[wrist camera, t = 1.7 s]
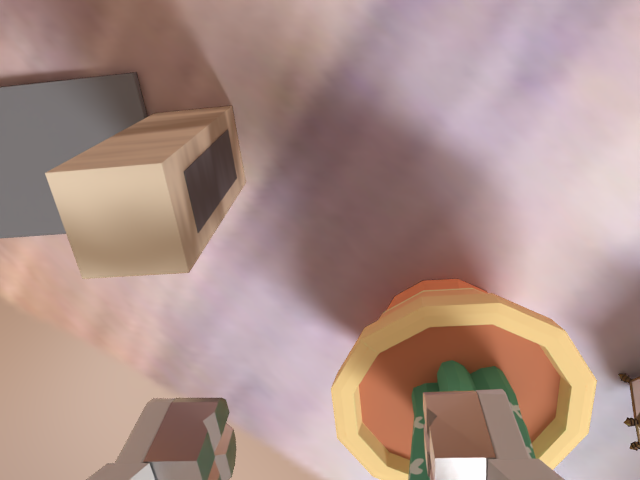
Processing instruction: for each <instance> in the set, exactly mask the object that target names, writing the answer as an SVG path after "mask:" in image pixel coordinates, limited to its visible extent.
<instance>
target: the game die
mask: <svg viewBox="0 0 640 480" xmlns="http://www.w3.org/2000/svg"><path fill="white" fill-rule="evenodd" d="M619 376H620V378H621V380H623V381H624V382H628V383H629V384H630V391H631V398H632V406H633V413H634V419H633V418H627V419H626V421H625V422H624V423H625V424H626V425H628V427H629V426H636V432H637V437H638V442H633V443H631V446H630V449H633V450H636V451H637V449H640V377H638V378H635V379H631V378H630V377H629V376H627V375H626V374H619Z"/></svg>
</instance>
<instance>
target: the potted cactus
mask: <svg viewBox="0 0 640 480" xmlns="http://www.w3.org/2000/svg"><path fill="white" fill-rule="evenodd" d="M596 383H597V380H596V378H595V377H594V375H593V374H592V372H591V371H590V369H589V367H588V366H587V364H586V363H585V361H584V360H583V358H582V356H581V355H580V353H579V352H578V350H577V348H576V347H575V345H574V344H573V342H572V341H571V339H570V337H569V336H568V334H567V333H566V331H565V330H563V329H562V328H561V327H560V326H559V325H558V324H556V323H555V322H554V321H553V320H552V319H550V318H548V317H545V316H543V315H541V314H538V313H536V312H534V311H532V310H529V309H527V308H525V307H522V306H520V305H518V304H515V303H513V302H511V301H509V300H506V299H504V298H502V297H499V296H497V295H495V294H493V293H488V292H487V291H485V290H482V289H480V288H478V287H475V286H473V285H471V284H469V283H466V282H464V281H462V280H459V279H441V280H423V281H421V282H420V283H418V284H416V285H414V286H412V287H411V288H409V289H407V290H405V291H403V292H401V293H400V294H398V295H396V296H395V297H394V298H393V300H392V301H391V303H390V305H389V306H388V308H387V310H386V311H385V312H383V313H382V315H381V316H380V318H379V320H378V321H376V322H374V323H372V324H370V325H368V326H367V327H365V328H364V329H363V331H362V333H361V335H360V336H359V338H358V340H357V341H356V343H355V345H354V346H353V348H352V350H351V351H350V353H349V355H348V356H347V358H346V360H345V361H344V363H343V365H342V366H341V368H340V370H339V371H338V373H337V375H336V378H335V380H334V383H333V385H332V388H331V393H332V401H333V409H334V417H335V424H336V432H337V439H338V440H339V441H340V442H341V443H342V444H343V445H344V446H345V447H346V448H347V449H348V450H349V451H350V453H351V454H352V455H353V456H354V457H355V458H356V459H357V460H358V461H359V462H360V463H361V464H362V465H363V466H364V468H365V469H366V470H367V471H368V472H369V473H370V474H371V475H372V476H373V477H375V478H378V479H381V480H430V478H429V477H428V474H427V466H426V458H425V446H424V426H423V425H424V424H425V418H424V411H423V392H447V391H476V390H492V389H503V390H504V391H505V392H506V395H507V397H508V400H509V403H510V405H511V408H512V411H513V414H514V416H515V419H516V422H517V424H518V427H519V430H520V432H521V435H522V438H523V440H524V443H525V446H526V449H527V451H528V454H529V457H530V459H540V460H541V461H542V462H544V463H545V464H546V465H547V466H548V467H550V468H551V469H552V470H553V469H554V468H555V467H556V466H557V465H558V464H559V463H560V462H561V461H562V460H563V459H564V458H565V457H566V456H567V455H568V454H569V453H570V452H571V451H572V450H573V449H574V448H575V447H576V446H577V444H578V443H579V442H580V441H581V440H582V439H583V438H584V437H585V436H586V435H587V434H588V432H589V426H590V420H591V414H592V408H593V402H594V396H595V390H596Z"/></svg>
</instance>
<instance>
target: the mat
mask: <svg viewBox="0 0 640 480" xmlns="http://www.w3.org/2000/svg"><path fill="white" fill-rule="evenodd" d="M145 118H147V113H146V109H145V105H144V101H143V97H142V93H141V89H140V86H139V82H138V78H137V74H136V72H135V73H126V74H116V75H107V76H98V77H88V78H79V79H70V80H60V81H51V82H42V83H32V84H23V85H14V86H4V87H0V238H12V237H26V236H40V235H55V234H66V231H65V228H64V225H63V223H62V220H61V217H60V214H59V211H58V209H57V206H56V203H55V200H54V197H53V195H52V192H51V189H50V186H49V183H48V181H47V178H46V175H45V173H46V172H48V171H50V170H51V169H53V168H55V167H57V166H59V165H61V164H62V163H64V162H66V161H68V160H70V159H72V158H73V157H75V156H77V155H79V154H81V153H83V152H84V151H86V150H88V149H90V148H92V147H93V146H95V145H97V144H99V143H101V142H103V141H104V140H106V139H108V138H110V137H112V136H114V135H115V134H117V133H119V132H121V131H123V130H125V129H126V128H128V127H130V126H132V125H134V124H136V123H137V122H139V121H141V120H143V119H145Z"/></svg>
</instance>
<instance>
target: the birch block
mask: <svg viewBox="0 0 640 480" xmlns="http://www.w3.org/2000/svg"><path fill="white" fill-rule="evenodd" d="M45 175H46V178H47V181H48V183H49V186H50V189H51V192H52V195H53V197H54V200H55V203H56V206H57V209H58V211H59V214H60V217H61V220H62V223H63V225H64V228H65V231H66V234H67V237H68V239H69V242H70V245H71V248H72V251H73V253H74V256H75V259H76V262H77V265H78V267H79V270H80V273H81V276H82V279H90V278H107V277H125V276H142V275H159V274H176V273H189V272H190V270H191V269H192V267H193V266H194V264H195V263H196V261H197V259H198V258H199V256H200V255H201V253H202V251H203V250H204V248H205V247H206V245H207V244H208V242H209V240H210V239H211V237H212V236H213V234H214V233H215V231H216V229H217V228H218V226H219V225H220V223H221V221H222V220H223V218H224V217H225V215H226V214H227V212H228V210H229V209H230V207H231V206H232V204H233V202H234V201H235V199H236V198H237V196H238V195H239V193H240V191H241V190H242V188H243V187H244V185H245V184H246V180H245V175H244V169H243V163H242V158H241V152H240V147H239V141H238V135H237V130H236V124H235V119H234V113H233V107H232V106H223V107H213V108H202V109H192V110H182V111H171V112H161V113H154V114H152V115H150V116H148V117H147V118H145V119H143V120H141V121H139V122H137V123H136V124H134V125H132V126H130V127H128V128H126V129H125V130H123V131H121V132H119V133H117V134H115V135H114V136H112V137H110V138H108V139H106V140H104V141H103V142H101V143H99V144H97V145H95V146H93V147H92V148H90V149H88V150H86V151H84V152H83V153H81V154H79V155H77V156H75V157H73V158H72V159H70V160H68V161H66V162H64V163H62V164H61V165H59V166H57V167H55V168H53V169H51V170H50V171H48V172H46V173H45Z"/></svg>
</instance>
